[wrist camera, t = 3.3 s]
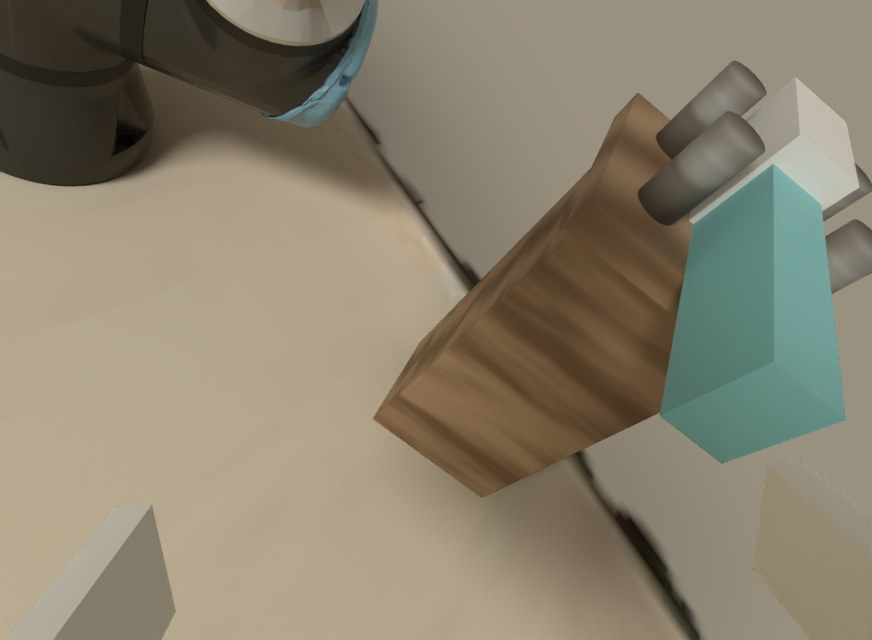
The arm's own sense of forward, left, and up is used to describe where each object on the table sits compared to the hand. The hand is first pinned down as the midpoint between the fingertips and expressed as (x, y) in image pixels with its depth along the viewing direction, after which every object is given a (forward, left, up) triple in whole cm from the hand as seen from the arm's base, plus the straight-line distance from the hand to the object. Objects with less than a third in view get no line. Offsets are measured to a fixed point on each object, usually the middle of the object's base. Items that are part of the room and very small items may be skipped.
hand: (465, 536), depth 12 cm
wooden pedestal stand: (-10, +23, -32) cm, 41 cm away
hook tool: (-7, +19, -2) cm, 20 cm away
